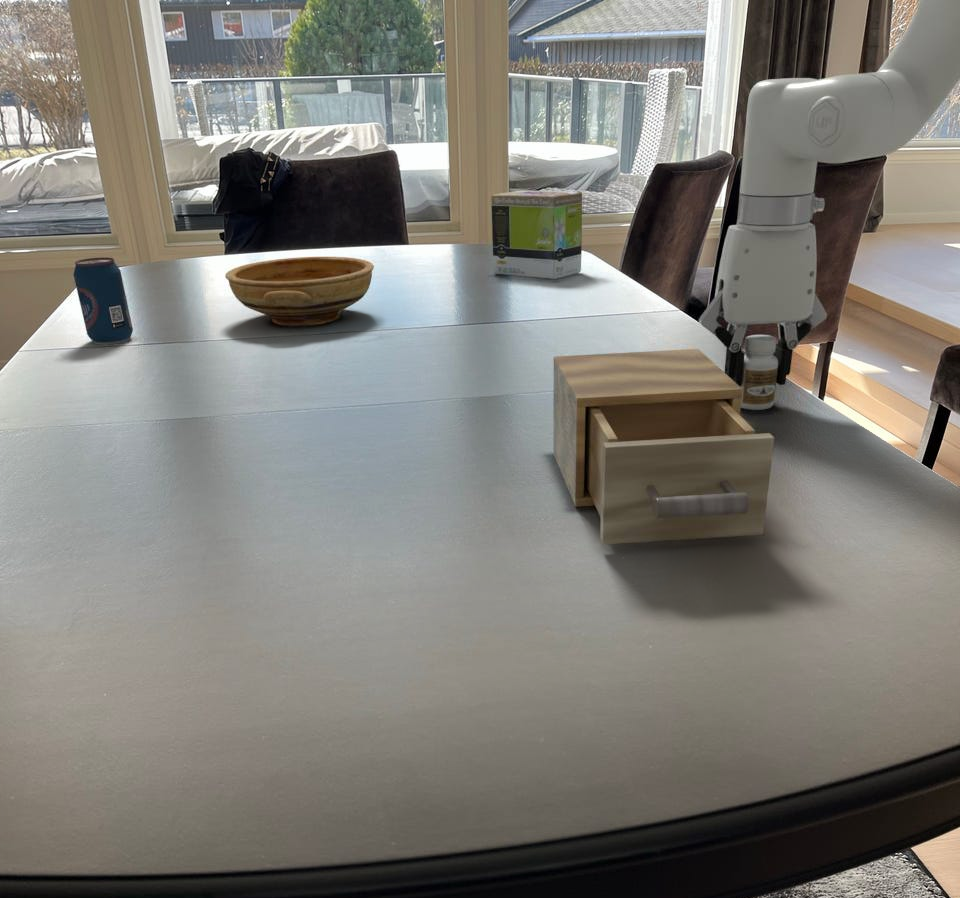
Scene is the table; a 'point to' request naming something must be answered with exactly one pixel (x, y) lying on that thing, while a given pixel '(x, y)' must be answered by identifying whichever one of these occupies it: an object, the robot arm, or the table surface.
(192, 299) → the table surface
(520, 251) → the tea box
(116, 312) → the soda can
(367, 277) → the ceramic bowl
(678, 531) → the drawer
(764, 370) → the pill bottle
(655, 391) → the cabinet
